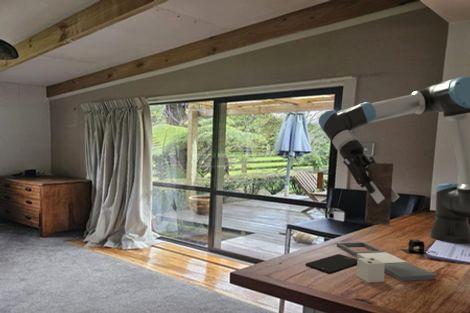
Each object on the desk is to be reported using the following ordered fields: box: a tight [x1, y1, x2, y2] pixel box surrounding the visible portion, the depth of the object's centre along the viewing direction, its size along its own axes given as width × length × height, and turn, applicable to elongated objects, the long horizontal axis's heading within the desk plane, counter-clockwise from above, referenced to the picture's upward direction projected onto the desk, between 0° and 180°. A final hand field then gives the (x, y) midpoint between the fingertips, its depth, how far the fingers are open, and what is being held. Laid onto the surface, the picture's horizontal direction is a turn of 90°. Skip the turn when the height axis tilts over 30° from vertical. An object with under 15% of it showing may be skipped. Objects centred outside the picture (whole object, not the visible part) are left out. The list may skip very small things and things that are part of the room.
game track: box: [336, 241, 436, 282], centre depth 112 cm, size 11×34×1 cm, turn 13°
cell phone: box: [304, 253, 358, 275], centre depth 107 cm, size 9×18×1 cm, turn 130°
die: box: [356, 257, 385, 283], centre depth 96 cm, size 5×5×5 cm
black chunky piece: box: [399, 238, 427, 255], centre depth 124 cm, size 12×7×5 cm, turn 92°
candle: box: [364, 162, 394, 227], centre depth 111 cm, size 8×7×20 cm
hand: (388, 200), depth 108 cm, fingers closed on candle, 7 cm apart
